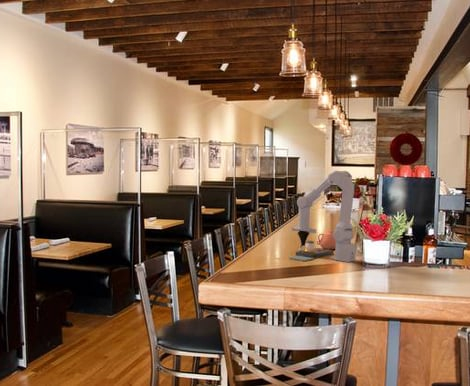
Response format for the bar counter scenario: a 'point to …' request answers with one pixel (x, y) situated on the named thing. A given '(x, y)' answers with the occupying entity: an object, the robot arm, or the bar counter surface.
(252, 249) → the bar counter surface
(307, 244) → the plug
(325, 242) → the sugar bowl
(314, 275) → the bar counter surface
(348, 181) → the robot arm
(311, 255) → the grey lever panel
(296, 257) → the mat
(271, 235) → the bar counter surface
